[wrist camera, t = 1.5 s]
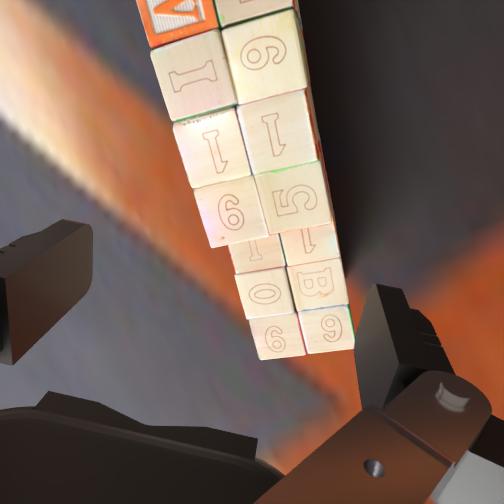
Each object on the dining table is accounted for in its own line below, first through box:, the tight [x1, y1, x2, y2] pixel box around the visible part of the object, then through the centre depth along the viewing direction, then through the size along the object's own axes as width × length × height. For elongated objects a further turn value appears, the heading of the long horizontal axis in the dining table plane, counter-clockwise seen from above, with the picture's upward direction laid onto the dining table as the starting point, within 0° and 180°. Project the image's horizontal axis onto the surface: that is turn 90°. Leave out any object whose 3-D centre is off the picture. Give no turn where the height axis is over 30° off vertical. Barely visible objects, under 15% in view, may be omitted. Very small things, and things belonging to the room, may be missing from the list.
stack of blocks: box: [136, 0, 355, 360], centre depth 25 cm, size 21×6×12 cm, turn 14°
